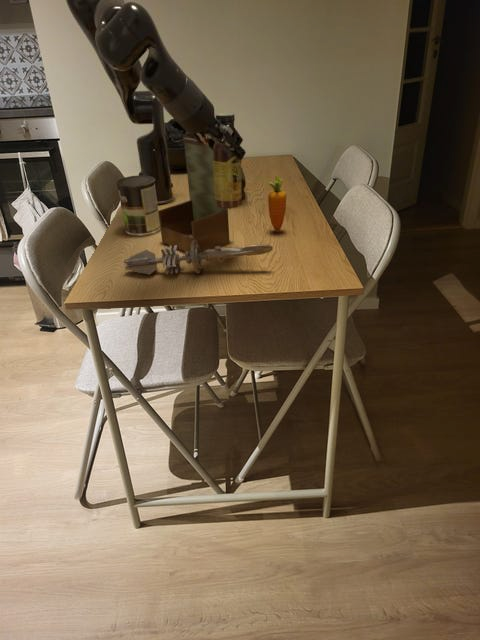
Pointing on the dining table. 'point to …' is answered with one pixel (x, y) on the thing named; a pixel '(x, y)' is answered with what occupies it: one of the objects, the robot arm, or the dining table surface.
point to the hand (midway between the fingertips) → (231, 154)
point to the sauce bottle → (226, 171)
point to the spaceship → (188, 257)
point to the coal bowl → (176, 144)
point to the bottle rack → (196, 206)
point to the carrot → (277, 204)
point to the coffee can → (139, 205)
